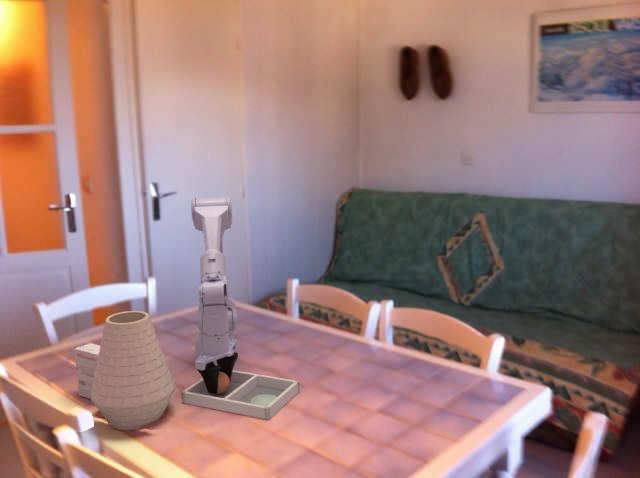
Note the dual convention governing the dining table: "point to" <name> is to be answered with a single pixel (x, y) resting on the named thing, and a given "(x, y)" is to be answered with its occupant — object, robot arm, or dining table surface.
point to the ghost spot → (263, 399)
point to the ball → (222, 383)
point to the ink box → (86, 367)
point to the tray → (244, 394)
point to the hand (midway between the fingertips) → (219, 387)
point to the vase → (131, 373)
